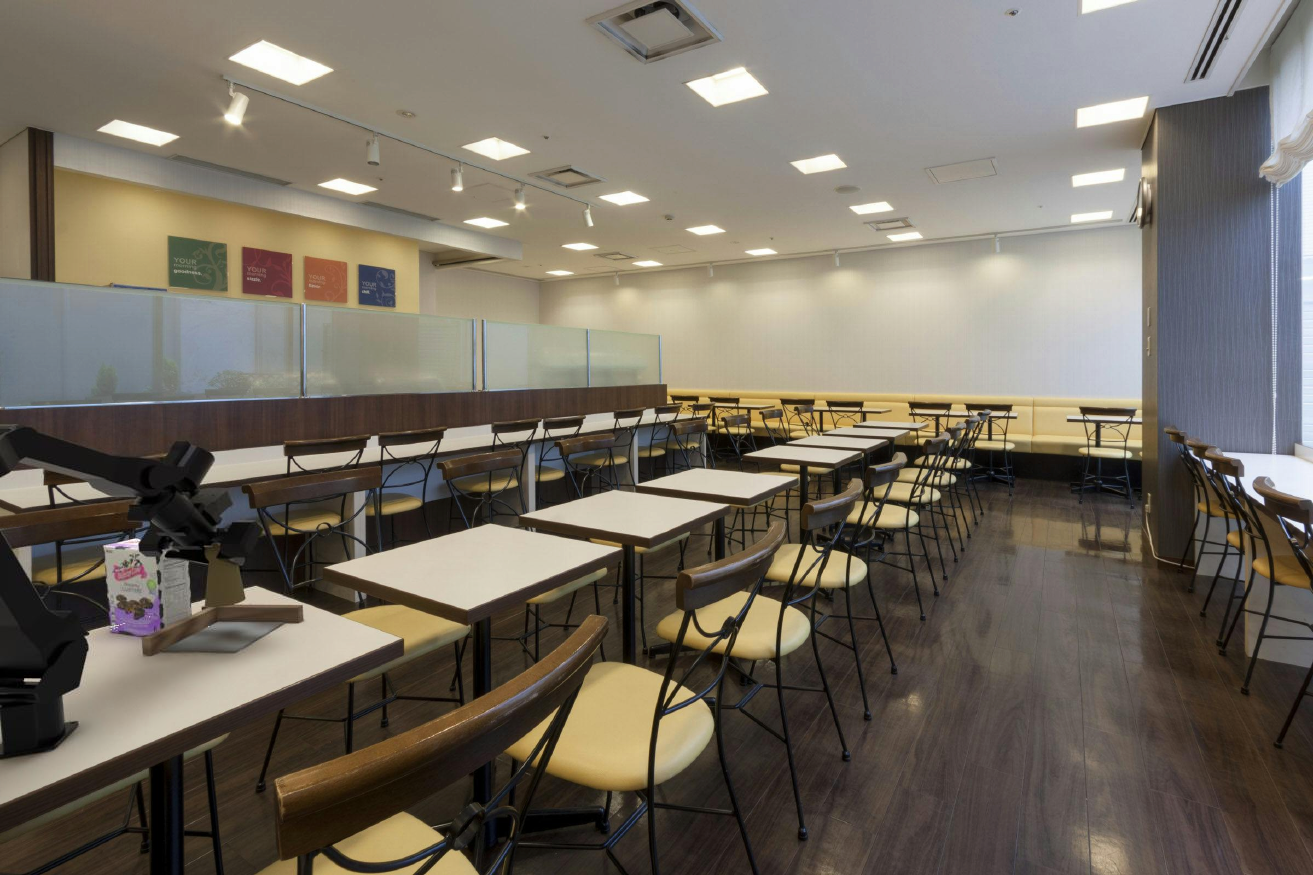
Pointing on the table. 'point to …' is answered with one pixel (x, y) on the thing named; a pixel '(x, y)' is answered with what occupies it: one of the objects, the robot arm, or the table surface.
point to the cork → (222, 581)
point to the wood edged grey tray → (221, 628)
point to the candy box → (145, 589)
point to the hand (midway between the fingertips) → (228, 563)
